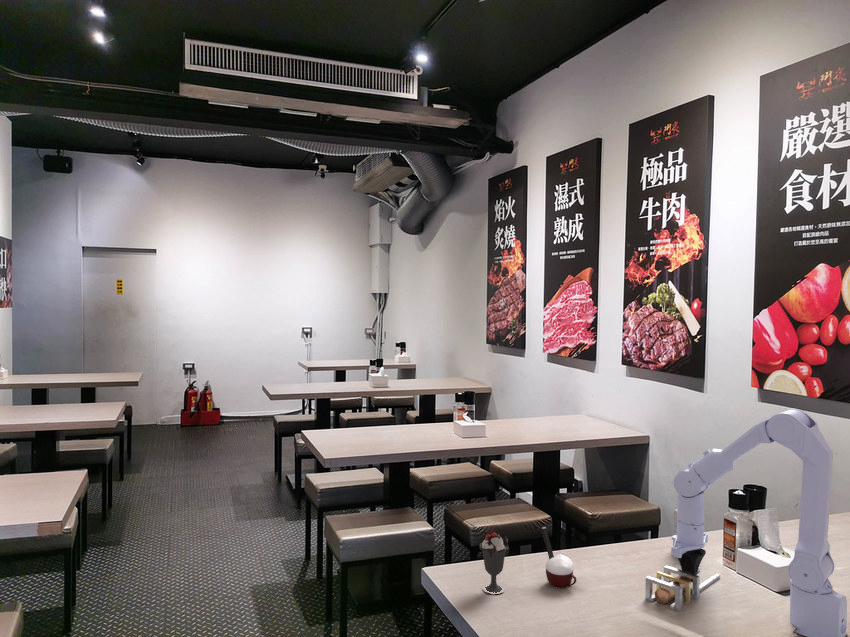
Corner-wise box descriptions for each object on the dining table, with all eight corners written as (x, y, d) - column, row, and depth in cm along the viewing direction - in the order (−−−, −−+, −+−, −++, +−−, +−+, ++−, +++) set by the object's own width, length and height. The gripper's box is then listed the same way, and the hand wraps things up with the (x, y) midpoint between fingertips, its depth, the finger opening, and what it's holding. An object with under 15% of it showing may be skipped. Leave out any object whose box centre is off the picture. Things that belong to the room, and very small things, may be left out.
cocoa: (580, 592, 140) (583, 541, 139) (556, 595, 138) (559, 543, 137) (558, 573, 149) (562, 525, 148) (535, 576, 147) (539, 526, 146)
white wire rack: (725, 583, 144) (725, 559, 144) (679, 617, 128) (679, 590, 128) (691, 572, 150) (691, 549, 150) (643, 603, 134) (643, 577, 134)
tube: (681, 588, 140) (675, 574, 141) (693, 586, 138) (688, 572, 139) (657, 604, 132) (652, 589, 133) (670, 603, 130) (665, 588, 131)
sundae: (474, 592, 138) (475, 526, 138) (485, 581, 144) (486, 518, 144) (501, 599, 135) (502, 532, 135) (512, 587, 141) (513, 523, 141)
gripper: (687, 510, 148) (686, 566, 148) (658, 524, 138) (657, 583, 138) (717, 517, 143) (716, 575, 143) (689, 532, 133) (688, 594, 133)
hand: (689, 580), depth 140 cm, fingers closed
